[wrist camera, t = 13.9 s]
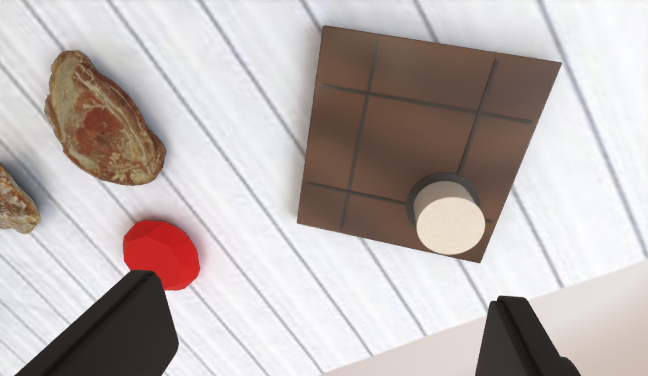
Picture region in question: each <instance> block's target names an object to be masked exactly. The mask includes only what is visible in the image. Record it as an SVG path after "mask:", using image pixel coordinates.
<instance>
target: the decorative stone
mask: <svg viewBox="0 0 648 376" xmlns="http://www.w3.org/2000/svg"><path fill="white" fill-rule="evenodd" d="M40 220H41V218H40V214H39V211H38V209H37V206H36V204H35V203H34V201H33V200H32V199H31V198H30V197H29V196H28V195H27V194H26V193H25V192H24V191H23V190H22V189H21V188H20V187H19V186H18V185H17V184H16V182H15V181H14V179H13V178H12V176H11V175H10V174H9V173H8V172H7V171H6V170H5V169H4V168H3V167H2V166H1V165H0V228H1V229H9V228H13V229H15V230H16V231H18V232H19V233H22V234H28V233H30V232H31V231H32V230H33V229H34V227H35V226H36V225H37V224H38V223H39V222H40Z"/></svg>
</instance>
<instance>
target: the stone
mask: <svg viewBox="0 0 648 376" xmlns="http://www.w3.org/2000/svg"><path fill="white" fill-rule="evenodd" d="M51 71H52V75H51V77H50V81H49V89H50V95H47V99H46V100H45V102H46V103H45V104H46V105H45V109H44V112H45V114H46V116H47V118H48V120H49V122H50V124H51V126H52V128H53V131H54V134H55V136H56V137H57V139H58V140H59V141H60V143H61V144H62V147H63V152H64V153H65V155H66V156H67V157H68V158H69V159H70V160H71V161H72V162H73V163H74V164H75V165H77V166H78V167H79V168H81V169H82V170H83V171H85V172H86V173H88V174H90V175H92V176H94V177H97V178H98V179H99V180H102V181H108V182H112V183H116V184H121V185H131V186H134V185H142V184H146V183H149V182H151V181H153V180H154V179H155V178H156V176H157V175H158V173H159V172H160V171H161V170H162V168H163V164H164V158H165V154H166V149H165V147H164V145H163V143H162V142H161V140H160V139H159V138H158V137H157V136H156V135H154V134H153V133H152V131H151V130H150V129H149V128H148V127H147V125H146V124H145V121H144V119H143V117H142V115H141V113H140V111H139V110H138V108H137V107H136V105H135V104H134V102H133V101H132V100H131V98H130V97H129V96H128V95H127V94H126V93H125V92H124V91H123V90H122V89H121V88H120V87H119V86H118V85H117V84H115V83H114V82H113V81H112V80H110V79H108V78H107V77H105V76H103V75H101V74H100V73H98V72H97V71H96V69H95V68H94V66H93V64H92V63H91V61H90V60H89V59H88V58H87V57H86V56H85V55H83V54H82V53H81V52H79V51H66V52H62V53H61V54H60V55H59V56H58V57H57V59H56V60H55V61H54V62H53V64H52V66H51Z"/></svg>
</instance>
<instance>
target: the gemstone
mask: <svg viewBox="0 0 648 376" xmlns="http://www.w3.org/2000/svg"><path fill="white" fill-rule="evenodd" d="M123 253H124V262H125V263H126V265H127V266H128V268H129V269H130V271H132V270H135V269H137V270H151V271H154V272H155V273H156V274H157V276H159V277H160V278H161V281H162V285H163V288H164V290H181V289H185V288H186V287H187V286H188V285H189V284H190V283H191V282H192V281H193V280H194V279H196V278H197V276H198V274H199V270H200V266H199V260H198V254H197V250H196V248H195V246H194V244H193V243H192V241H191V240H190V238H189V237H188V236H187V234H186V233H185V232H183V231H182V230H180V229H178V228H177V227H175V226H173V225H171V224H169V223H167V222H161V221H150V220H143V221H140V222H137V223H136V224H134V226H133V227H132V228H131V229H130V230H129V231H128V233H127V234H126V235H125V236H124V240H123Z"/></svg>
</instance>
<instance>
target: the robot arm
mask: <svg viewBox="0 0 648 376" xmlns="http://www.w3.org/2000/svg"><path fill="white" fill-rule="evenodd" d="M178 345H179V342H178V337H177V334H176V330H175V327H174V323H173V320H172V316H171V313H170V309H169V306H168V302H167V299H166V295H165V292H164V288H163V285H162V281H161V278H160V277H159V276H157V274H156V273H155V272H154V271H151V270H137V269H135V270H132V271H130V272H129V273H128V274H127V275H125V276H124V277H123V278H122V279H121V280H120V281H119V282H118V283H117V284H115V285H114V286H113V287H112V288H111V289H110V290H109V291H108V292H107V293H105V294H104V295H103V296H102V297H101V298H100V299H99V300H98V301H97V302H95V303H94V304H93V305H92V306H91V307H90V308H89V309H88V310H87V311H85V312H84V313H83V314H82V315H81V316H80V317H79V318H78V319H77V320H76V321H74V322H73V323H72V324H71V325H70V326H69V327H68V328H67V329H66V330H64V331H63V332H62V333H61V334H60V335H59V336H58V337H57V338H56V339H54V340H53V341H52V342H51V343H50V344H49V345H48V346H47V347H46V348H44V349H43V350H42V351H41V352H40V353H39V354H38V355H37V356H36V357H34V358H33V359H32V360H31V361H30V362H29V363H28V364H27V365H26V366H24V367H23V368H22V369H21V370H20V371H19V372H18V373H17V374H16V375H14V376H161V375H162V374H163V372H164V371H165V369H166V368H167V366H168V365H169V363H170V362H171V360H172V359H173V357H174V356H175V354H176V352H177V350H178ZM475 376H581V375H580V373H579V372H578V370H577V368H576V367H575V366H574V364H573V363H572V362H571V361H570V360H569V359H568V358H566V357H560V355H559V353H558V352H557V350H556V348H555V347H554V345H553V343H552V341H551V340H550V338H549V336H548V335H547V333H546V331H545V329H544V328H543V326H542V324H541V323H540V321H539V319H538V317H537V316H536V314H535V312H534V311H533V309H532V307H531V306H530V304H529V302H528V301H527V299H526V298H524V297H513V296H499V297H498V298H497V301H491V302H490V305H489V309H488V314H487V320H486V324H485V329H484V334H483V339H482V344H481V348H480V353H479V358H478V363H477V368H476V373H475Z"/></svg>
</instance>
